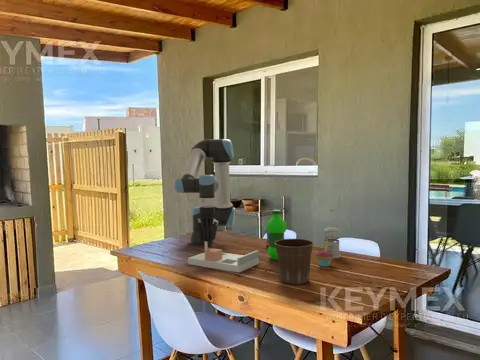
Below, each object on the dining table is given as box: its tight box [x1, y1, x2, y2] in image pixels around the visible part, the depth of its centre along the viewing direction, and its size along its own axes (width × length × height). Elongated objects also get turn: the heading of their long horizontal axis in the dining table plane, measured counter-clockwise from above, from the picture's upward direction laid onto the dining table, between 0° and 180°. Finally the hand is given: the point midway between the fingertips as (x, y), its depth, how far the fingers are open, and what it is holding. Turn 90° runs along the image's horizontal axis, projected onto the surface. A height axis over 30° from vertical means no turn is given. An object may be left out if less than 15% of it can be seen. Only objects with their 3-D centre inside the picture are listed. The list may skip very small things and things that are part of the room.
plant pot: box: [274, 238, 314, 285], centre depth 159 cm, size 16×16×16 cm
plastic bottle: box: [266, 209, 287, 261], centre depth 196 cm, size 10×10×25 cm
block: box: [204, 247, 223, 261], centre depth 184 cm, size 6×6×4 cm
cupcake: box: [315, 241, 334, 268], centre depth 182 cm, size 9×8×12 cm
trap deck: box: [187, 250, 260, 273], centre depth 186 cm, size 30×18×6 cm, turn 58°
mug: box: [264, 227, 269, 247], centre depth 225 cm, size 12×9×11 cm
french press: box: [322, 208, 342, 259], centre depth 201 cm, size 10×12×25 cm
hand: (207, 254), depth 186 cm, fingers closed
